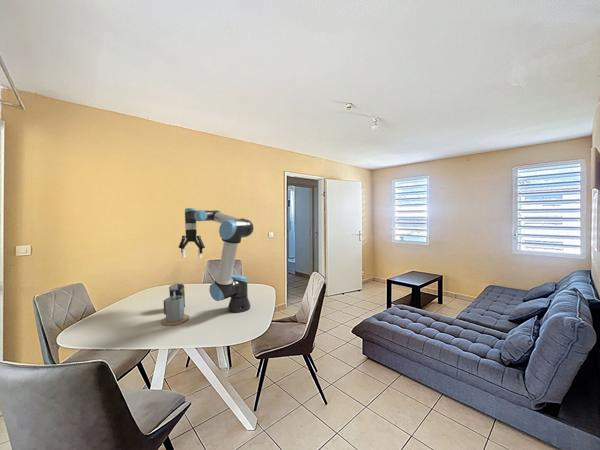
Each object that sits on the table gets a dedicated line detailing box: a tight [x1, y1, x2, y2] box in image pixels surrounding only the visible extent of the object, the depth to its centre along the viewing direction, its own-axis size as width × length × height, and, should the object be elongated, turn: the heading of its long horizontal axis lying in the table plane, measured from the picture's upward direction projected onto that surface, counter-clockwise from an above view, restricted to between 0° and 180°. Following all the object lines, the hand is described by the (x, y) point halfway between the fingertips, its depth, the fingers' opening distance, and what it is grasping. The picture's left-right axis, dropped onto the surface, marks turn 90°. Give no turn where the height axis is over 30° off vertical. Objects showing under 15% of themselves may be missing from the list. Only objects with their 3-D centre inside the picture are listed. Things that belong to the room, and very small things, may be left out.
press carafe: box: [160, 296, 190, 327], centre depth 157 cm, size 16×16×14 cm
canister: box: [169, 283, 186, 308], centre depth 176 cm, size 10×10×18 cm
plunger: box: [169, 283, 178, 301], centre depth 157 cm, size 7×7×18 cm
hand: (191, 257), depth 184 cm, fingers open, 13 cm apart
